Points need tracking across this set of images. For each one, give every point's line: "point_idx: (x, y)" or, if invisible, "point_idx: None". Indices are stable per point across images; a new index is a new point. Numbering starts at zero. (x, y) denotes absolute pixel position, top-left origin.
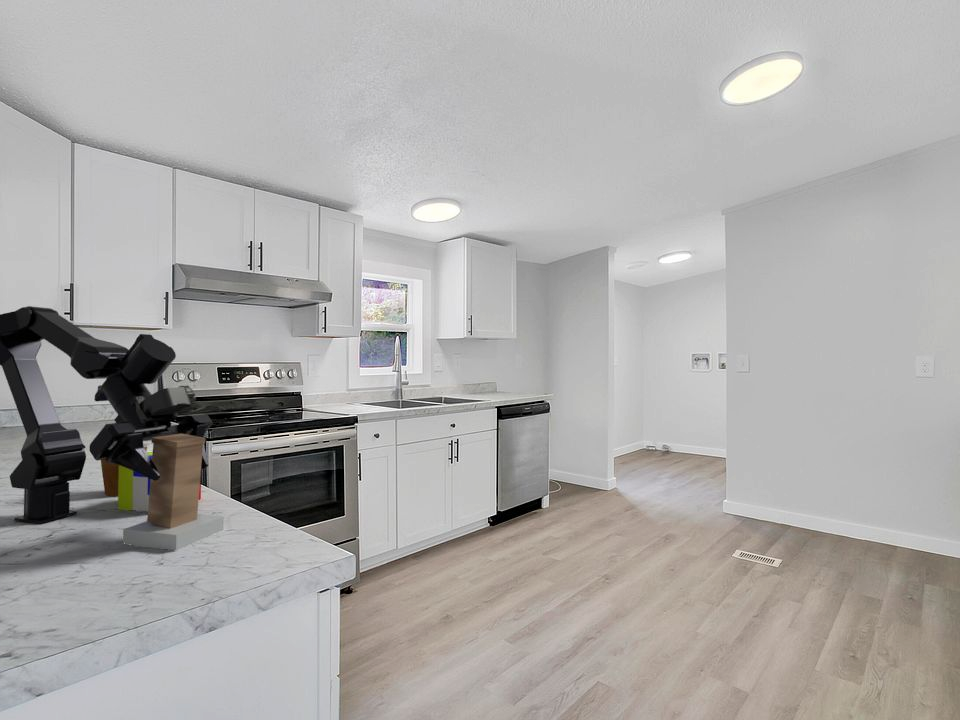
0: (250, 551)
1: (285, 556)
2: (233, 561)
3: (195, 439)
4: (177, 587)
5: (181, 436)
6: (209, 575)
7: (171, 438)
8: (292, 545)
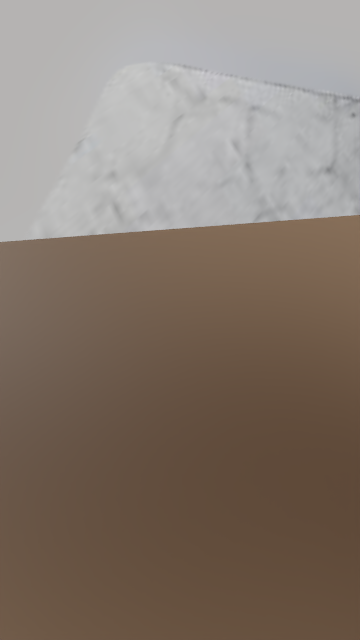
0: (176, 196)
1: (168, 129)
2: (229, 185)
3: (74, 237)
4: (351, 176)
5: (13, 636)
6: (293, 171)
7: (310, 554)
8: (117, 154)
